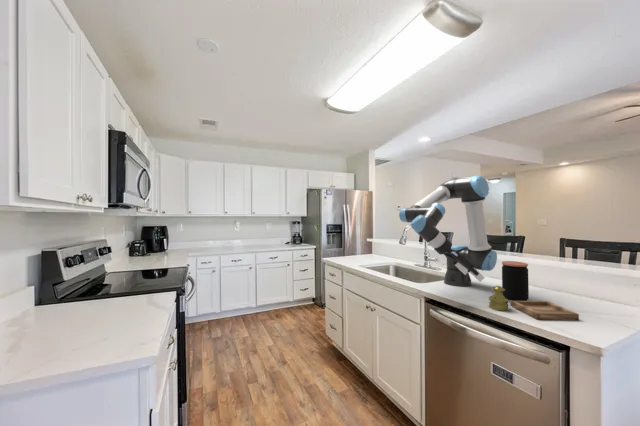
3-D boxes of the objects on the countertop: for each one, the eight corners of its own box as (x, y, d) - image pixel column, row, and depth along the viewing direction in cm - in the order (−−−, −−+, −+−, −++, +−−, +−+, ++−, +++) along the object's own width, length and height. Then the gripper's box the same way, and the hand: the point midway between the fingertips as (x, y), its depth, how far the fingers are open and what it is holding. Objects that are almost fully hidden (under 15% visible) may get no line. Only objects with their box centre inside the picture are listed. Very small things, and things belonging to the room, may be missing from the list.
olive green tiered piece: (490, 304, 125) (489, 283, 125) (509, 307, 120) (509, 285, 120) (487, 308, 119) (487, 286, 119) (508, 312, 114) (507, 289, 115)
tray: (510, 306, 122) (510, 300, 122) (547, 306, 121) (547, 301, 121) (536, 319, 106) (536, 313, 106) (578, 320, 105) (578, 314, 105)
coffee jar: (519, 295, 137) (519, 261, 138) (534, 302, 127) (533, 265, 127) (497, 295, 138) (497, 261, 139) (510, 302, 128) (509, 264, 128)
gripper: (425, 245, 134) (456, 275, 133) (444, 252, 110) (483, 289, 108) (435, 235, 134) (466, 265, 133) (457, 239, 109) (496, 276, 108)
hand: (474, 276), depth 121 cm, fingers open, 13 cm apart
